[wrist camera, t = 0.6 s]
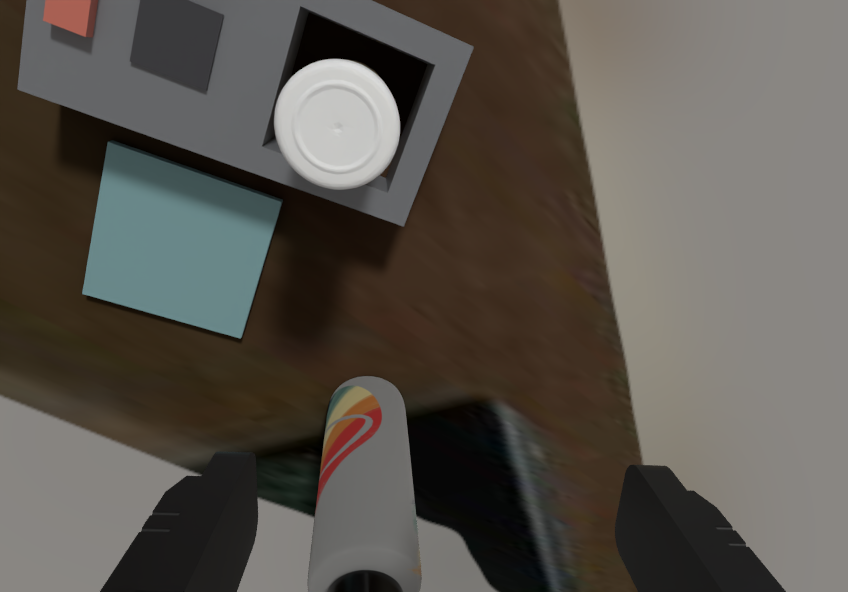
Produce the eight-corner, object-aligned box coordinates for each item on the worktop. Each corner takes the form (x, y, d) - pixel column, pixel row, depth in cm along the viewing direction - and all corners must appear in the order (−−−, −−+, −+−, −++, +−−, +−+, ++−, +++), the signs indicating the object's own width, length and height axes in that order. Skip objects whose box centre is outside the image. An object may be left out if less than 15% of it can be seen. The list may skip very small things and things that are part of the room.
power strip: (60, 85, 30) (8, 90, 25) (87, -121, 26) (32, -155, 22) (400, 208, 34) (404, 230, 30) (461, 47, 31) (476, 46, 26)
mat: (86, 290, 34) (82, 293, 34) (112, 140, 31) (107, 141, 30) (242, 334, 37) (240, 338, 36) (283, 199, 33) (281, 202, 33)
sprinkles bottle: (361, 156, 33) (356, 216, 20) (295, 110, 31) (247, 145, 19) (404, 90, 31) (426, 112, 19) (337, 39, 30) (315, 28, 18)
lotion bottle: (315, 390, 39) (267, 681, 21) (387, 362, 39) (402, 634, 21) (347, 446, 41) (330, 751, 23) (415, 421, 41) (452, 711, 23)
